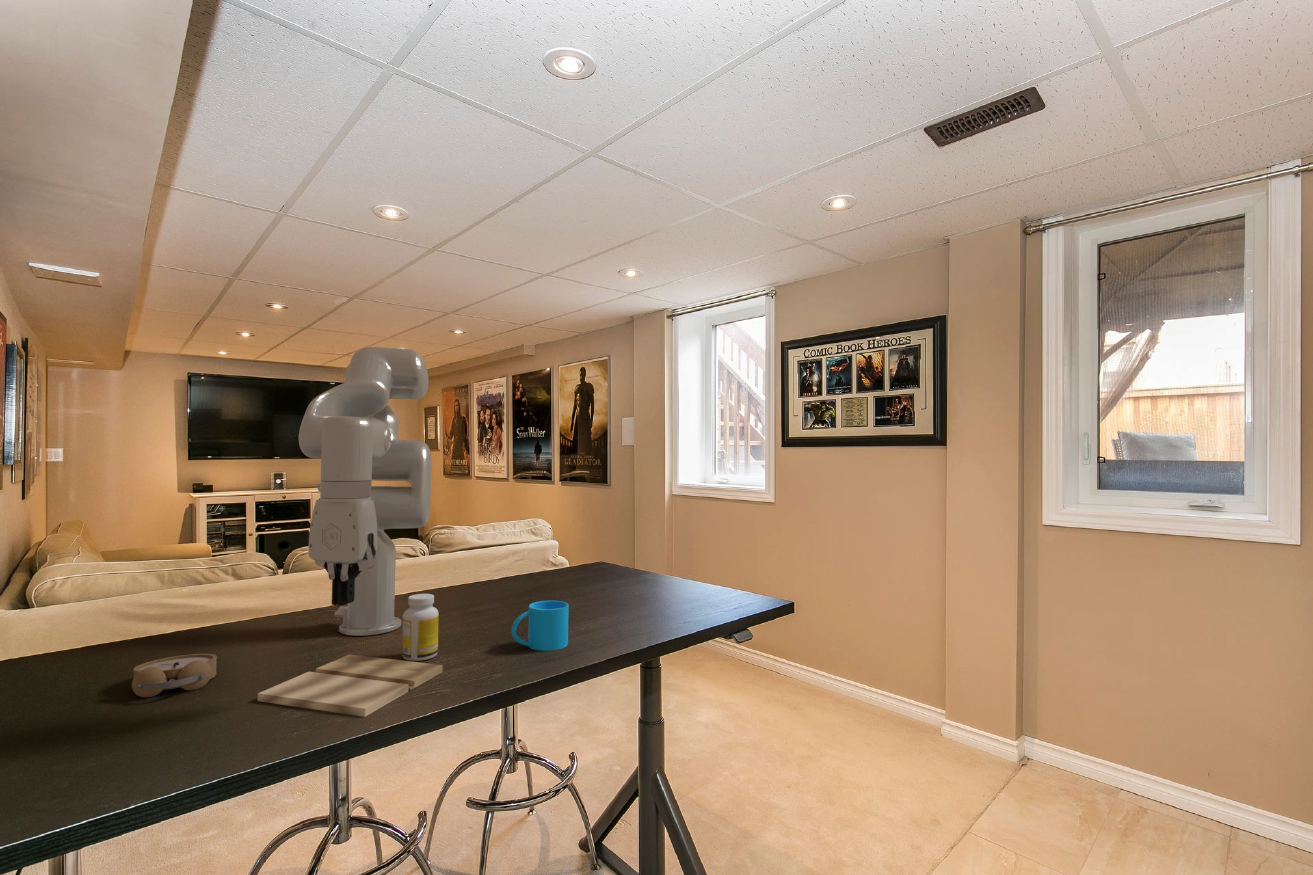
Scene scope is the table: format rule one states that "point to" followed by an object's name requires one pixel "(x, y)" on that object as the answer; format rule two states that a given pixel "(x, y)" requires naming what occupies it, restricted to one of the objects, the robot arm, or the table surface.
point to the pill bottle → (420, 628)
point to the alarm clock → (173, 674)
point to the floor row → (382, 669)
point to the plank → (334, 693)
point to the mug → (545, 626)
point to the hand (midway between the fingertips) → (343, 603)
